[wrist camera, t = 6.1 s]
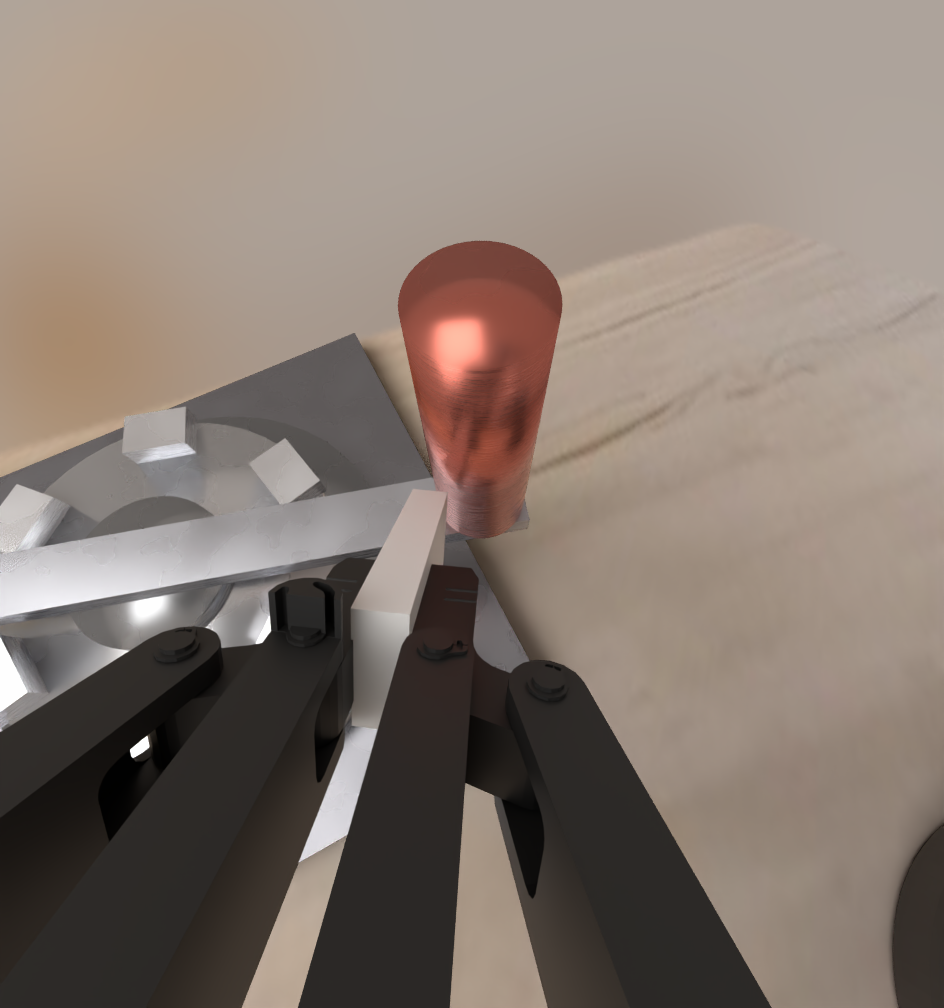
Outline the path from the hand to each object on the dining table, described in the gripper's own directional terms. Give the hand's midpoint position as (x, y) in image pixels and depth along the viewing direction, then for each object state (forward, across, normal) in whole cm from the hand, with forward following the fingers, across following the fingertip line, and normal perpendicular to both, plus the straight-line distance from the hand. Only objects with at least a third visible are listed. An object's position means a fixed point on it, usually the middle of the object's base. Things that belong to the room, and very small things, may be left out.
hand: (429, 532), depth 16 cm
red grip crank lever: (+5, -7, -5) cm, 11 cm away
